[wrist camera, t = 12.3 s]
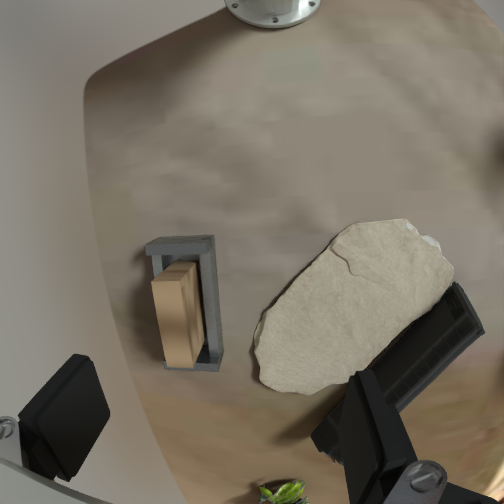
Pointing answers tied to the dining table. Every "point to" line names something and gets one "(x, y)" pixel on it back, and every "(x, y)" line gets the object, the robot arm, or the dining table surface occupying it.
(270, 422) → the dining table surface
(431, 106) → the dining table surface
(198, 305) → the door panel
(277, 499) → the green leafy plant
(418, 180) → the dining table surface
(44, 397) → the robot arm
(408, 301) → the stone tablet
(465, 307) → the magazine
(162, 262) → the grey open holder
